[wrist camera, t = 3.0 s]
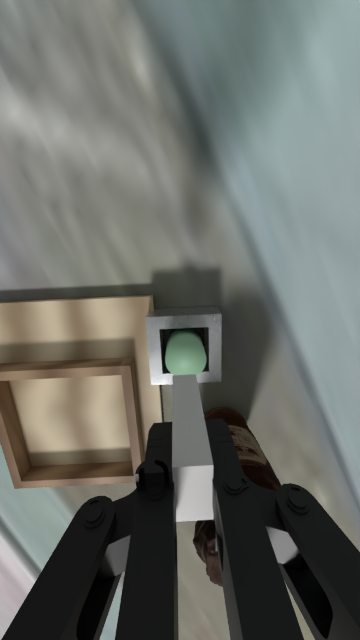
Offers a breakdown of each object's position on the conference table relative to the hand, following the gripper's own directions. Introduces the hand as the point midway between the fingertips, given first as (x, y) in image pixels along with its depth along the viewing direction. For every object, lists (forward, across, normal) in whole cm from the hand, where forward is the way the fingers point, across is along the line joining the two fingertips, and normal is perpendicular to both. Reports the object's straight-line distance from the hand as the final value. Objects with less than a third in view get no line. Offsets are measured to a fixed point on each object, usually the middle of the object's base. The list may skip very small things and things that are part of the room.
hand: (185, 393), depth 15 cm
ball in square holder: (+11, 0, 0) cm, 11 cm away
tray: (+11, +12, +6) cm, 17 cm away
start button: (+9, 0, 0) cm, 9 cm away
